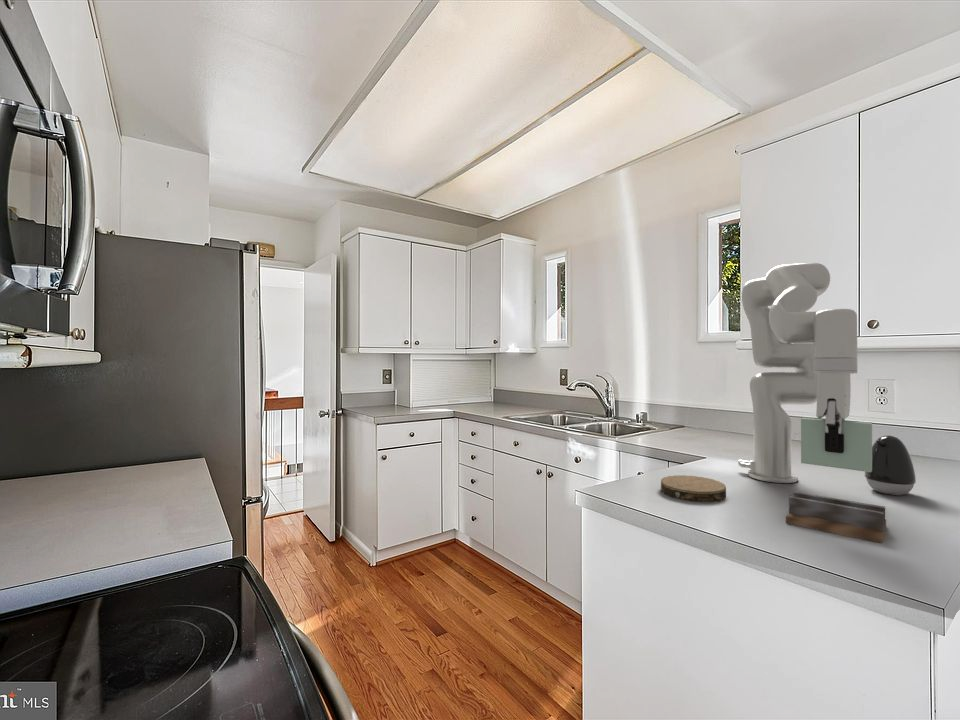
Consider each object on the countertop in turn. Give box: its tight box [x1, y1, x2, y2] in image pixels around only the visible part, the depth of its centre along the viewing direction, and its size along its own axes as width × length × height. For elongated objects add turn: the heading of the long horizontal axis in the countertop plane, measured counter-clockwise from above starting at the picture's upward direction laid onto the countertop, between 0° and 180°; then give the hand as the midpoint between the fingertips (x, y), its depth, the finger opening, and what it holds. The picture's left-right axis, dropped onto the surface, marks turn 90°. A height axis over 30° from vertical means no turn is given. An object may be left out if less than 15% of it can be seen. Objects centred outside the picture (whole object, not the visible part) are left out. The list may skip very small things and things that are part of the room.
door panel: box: [800, 417, 873, 473], centre depth 100 cm, size 12×2×10 cm, turn 46°
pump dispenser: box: [863, 435, 917, 496], centre depth 122 cm, size 10×10×15 cm
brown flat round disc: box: [660, 474, 727, 503], centre depth 124 cm, size 16×16×3 cm
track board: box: [785, 491, 887, 544], centre depth 100 cm, size 16×12×5 cm
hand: (835, 450), depth 100 cm, fingers closed on door panel, 2 cm apart
